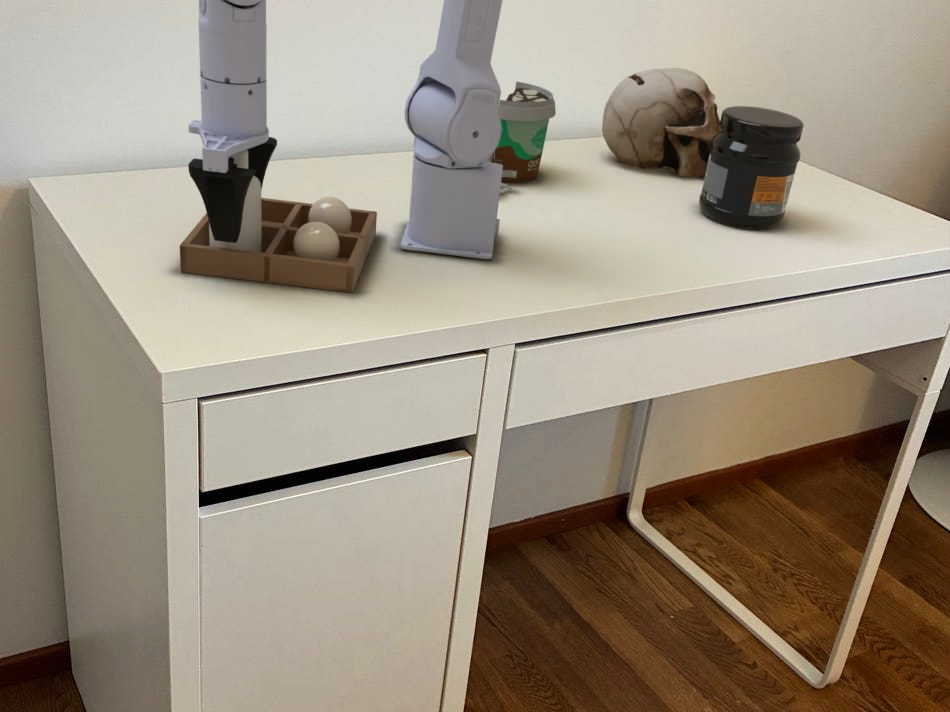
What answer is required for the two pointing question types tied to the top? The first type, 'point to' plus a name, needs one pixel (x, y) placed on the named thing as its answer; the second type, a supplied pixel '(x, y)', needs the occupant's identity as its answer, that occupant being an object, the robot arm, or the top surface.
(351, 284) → the wooden compartment tray
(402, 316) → the top surface
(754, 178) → the supplement container
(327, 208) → the egg near left
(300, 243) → the egg near right
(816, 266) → the top surface
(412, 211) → the robot arm
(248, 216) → the eye dropper bottle
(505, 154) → the food container
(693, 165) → the coin bank
